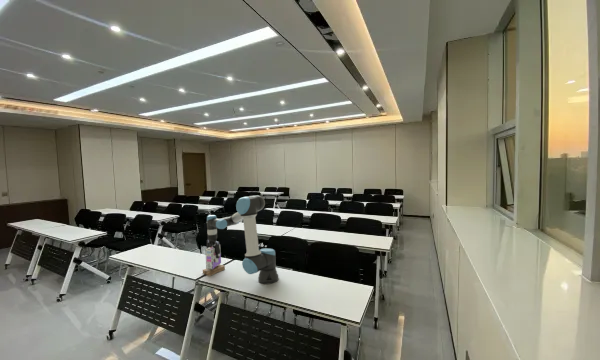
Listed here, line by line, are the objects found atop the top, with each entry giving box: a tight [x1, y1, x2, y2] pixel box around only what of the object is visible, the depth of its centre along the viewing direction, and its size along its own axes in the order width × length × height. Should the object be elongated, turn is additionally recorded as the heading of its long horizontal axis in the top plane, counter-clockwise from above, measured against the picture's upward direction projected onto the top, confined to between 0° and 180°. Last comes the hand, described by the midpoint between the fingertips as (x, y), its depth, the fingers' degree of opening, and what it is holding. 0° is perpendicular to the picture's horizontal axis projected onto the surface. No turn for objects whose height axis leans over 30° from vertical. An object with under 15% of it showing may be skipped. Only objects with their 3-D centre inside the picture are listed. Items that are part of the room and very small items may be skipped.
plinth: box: [202, 264, 226, 277], centre depth 208 cm, size 9×15×3 cm, turn 146°
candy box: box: [205, 244, 222, 269], centre depth 207 cm, size 14×6×16 cm, turn 168°
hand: (213, 261), depth 207 cm, fingers closed on candy box, 7 cm apart
